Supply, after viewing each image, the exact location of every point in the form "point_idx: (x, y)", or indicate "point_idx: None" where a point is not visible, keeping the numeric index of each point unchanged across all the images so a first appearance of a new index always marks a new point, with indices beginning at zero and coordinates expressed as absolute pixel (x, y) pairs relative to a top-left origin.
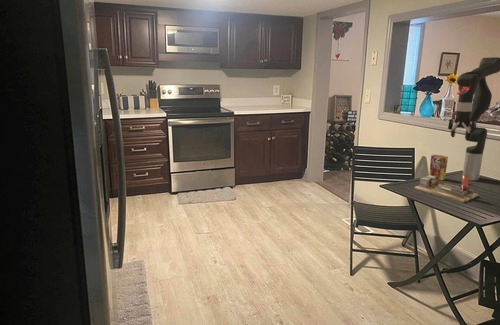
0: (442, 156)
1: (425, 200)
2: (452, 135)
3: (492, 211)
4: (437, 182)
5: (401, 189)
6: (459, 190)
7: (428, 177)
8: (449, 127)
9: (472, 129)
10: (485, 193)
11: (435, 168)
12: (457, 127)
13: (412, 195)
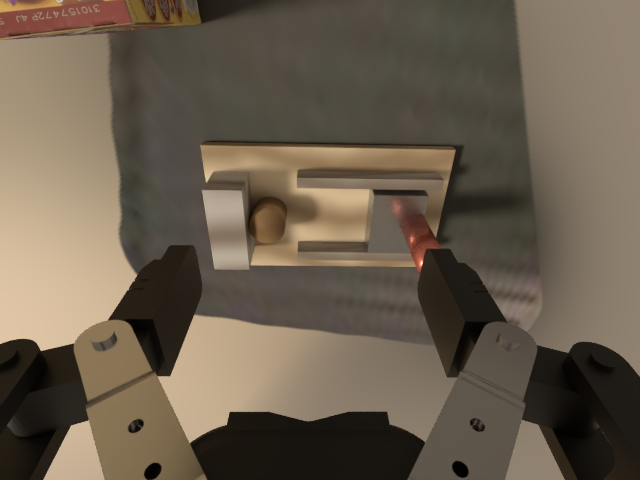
0: (91, 9)
1: (324, 327)
2: (190, 311)
3: (529, 263)
4: (284, 230)
5: (200, 300)
6: (401, 245)
7: (227, 231)
8: (41, 444)
9: (580, 465)
10: (471, 69)
11: (116, 31)
12: (157, 382)
13: (268, 320)
